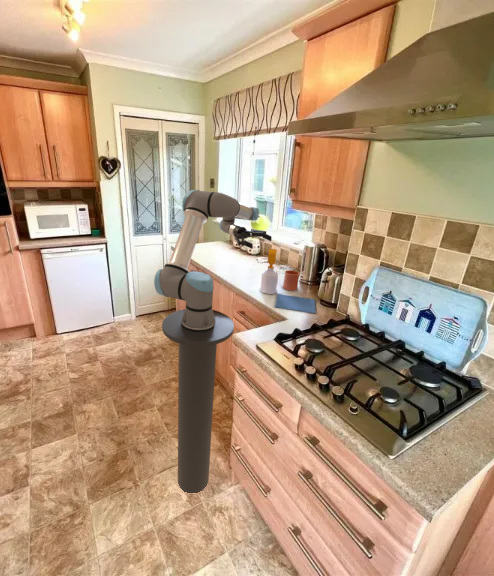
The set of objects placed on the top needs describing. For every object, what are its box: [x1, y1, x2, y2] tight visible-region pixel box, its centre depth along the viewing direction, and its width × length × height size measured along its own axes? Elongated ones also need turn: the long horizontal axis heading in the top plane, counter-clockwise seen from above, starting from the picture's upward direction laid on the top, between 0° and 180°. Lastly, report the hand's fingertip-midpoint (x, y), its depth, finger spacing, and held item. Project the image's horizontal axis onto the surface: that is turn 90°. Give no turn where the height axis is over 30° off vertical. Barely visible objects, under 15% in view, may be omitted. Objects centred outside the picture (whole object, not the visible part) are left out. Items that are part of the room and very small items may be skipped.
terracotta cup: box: [282, 269, 300, 292], centre depth 180 cm, size 8×8×10 cm
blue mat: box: [274, 293, 316, 315], centre depth 161 cm, size 20×18×1 cm
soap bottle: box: [260, 248, 279, 295], centre depth 171 cm, size 9×9×25 cm
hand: (261, 242), depth 167 cm, fingers open, 13 cm apart
